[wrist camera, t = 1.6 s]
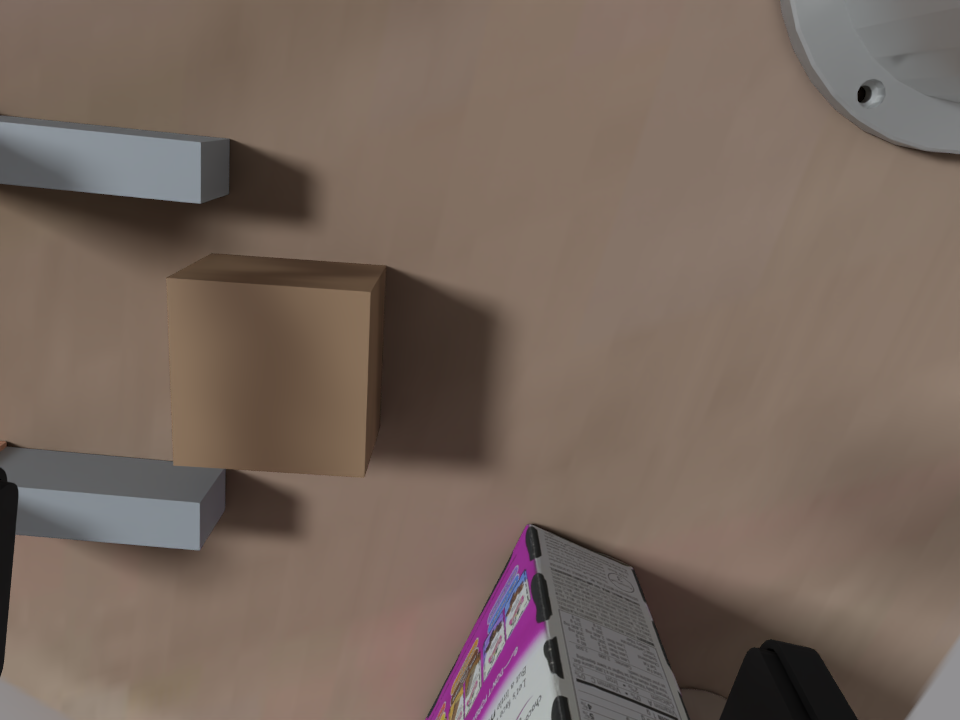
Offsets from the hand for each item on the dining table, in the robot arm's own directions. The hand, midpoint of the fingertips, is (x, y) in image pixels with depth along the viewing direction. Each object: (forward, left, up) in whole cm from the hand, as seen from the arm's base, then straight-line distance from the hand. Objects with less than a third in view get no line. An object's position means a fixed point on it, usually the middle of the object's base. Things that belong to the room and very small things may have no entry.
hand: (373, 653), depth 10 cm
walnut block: (+5, +2, -20) cm, 20 cm away
